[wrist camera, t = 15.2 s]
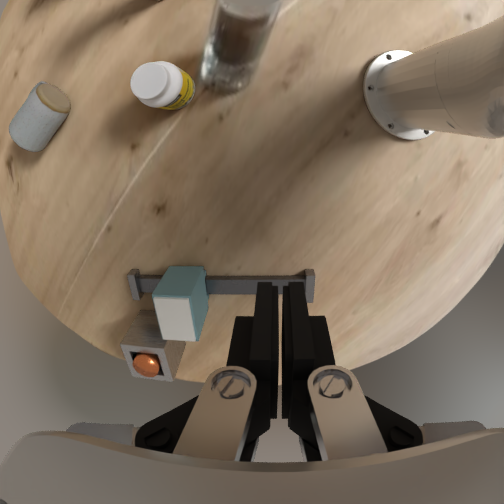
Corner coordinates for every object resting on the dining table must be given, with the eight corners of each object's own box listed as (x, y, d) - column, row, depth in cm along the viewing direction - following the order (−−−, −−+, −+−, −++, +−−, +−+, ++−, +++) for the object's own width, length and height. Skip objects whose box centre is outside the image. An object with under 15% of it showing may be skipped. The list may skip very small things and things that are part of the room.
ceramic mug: (82, 110, 34) (49, 110, 27) (52, 149, 36) (20, 156, 29) (52, 70, 31) (20, 66, 24) (25, 108, 33) (-7, 111, 26)
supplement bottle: (181, 117, 34) (154, 115, 25) (149, 99, 33) (114, 93, 24) (204, 82, 32) (183, 68, 23) (170, 64, 31) (141, 48, 22)
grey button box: (179, 311, 46) (163, 348, 38) (186, 345, 49) (173, 383, 41) (140, 309, 47) (119, 344, 38) (149, 343, 50) (133, 378, 41)
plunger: (169, 325, 45) (154, 359, 38) (173, 344, 47) (160, 378, 39) (146, 324, 45) (129, 356, 38) (151, 342, 47) (136, 375, 40)
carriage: (204, 262, 42) (190, 297, 33) (209, 303, 45) (197, 343, 36) (171, 262, 42) (150, 296, 34) (178, 302, 45) (161, 340, 37)
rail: (313, 269, 42) (315, 275, 40) (311, 295, 44) (313, 302, 42) (132, 269, 43) (127, 275, 42) (137, 293, 45) (133, 299, 43)
